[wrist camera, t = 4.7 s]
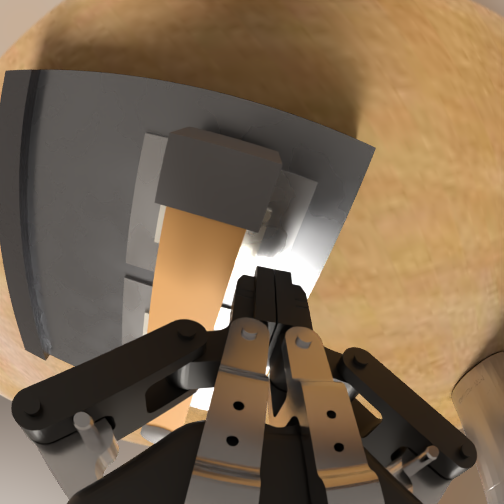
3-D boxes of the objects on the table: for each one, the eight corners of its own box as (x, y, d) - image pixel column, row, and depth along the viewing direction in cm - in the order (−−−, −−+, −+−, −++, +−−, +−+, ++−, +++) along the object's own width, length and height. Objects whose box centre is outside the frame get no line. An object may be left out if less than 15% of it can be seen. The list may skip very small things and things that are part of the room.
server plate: (356, 139, 15) (382, 151, 11) (241, 391, 25) (238, 427, 21) (42, 70, 12) (2, 71, 9) (43, 324, 23) (23, 351, 19)
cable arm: (278, 150, 11) (282, 165, 9) (187, 420, 21) (181, 451, 18) (190, 125, 11) (167, 133, 8) (144, 407, 20) (135, 437, 18)
